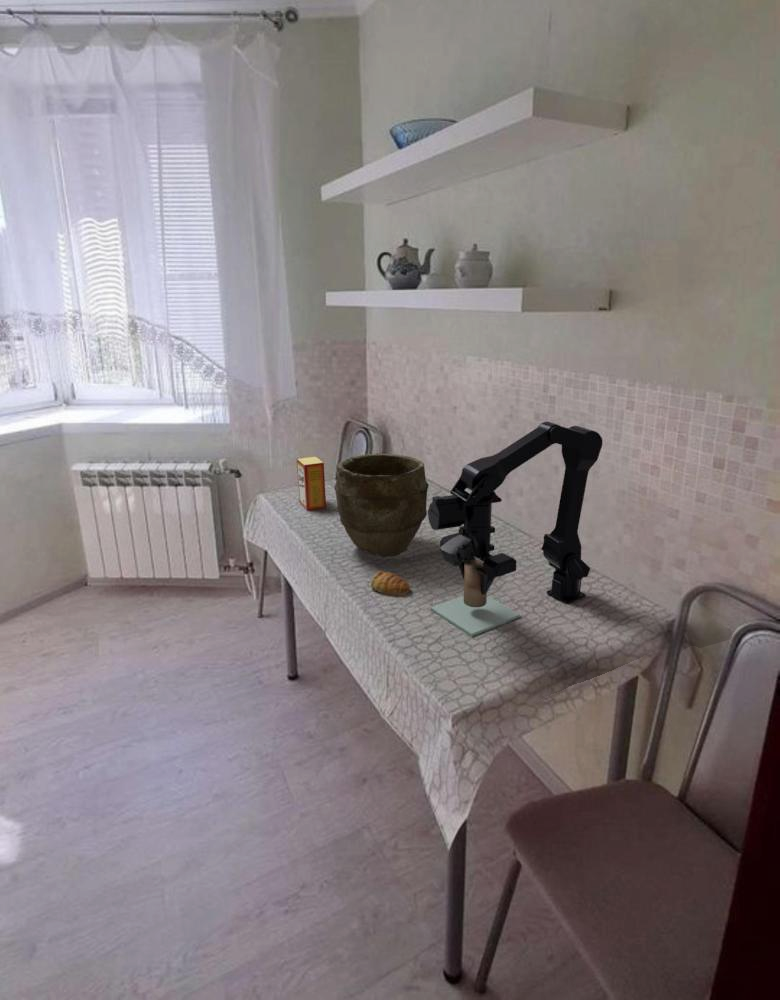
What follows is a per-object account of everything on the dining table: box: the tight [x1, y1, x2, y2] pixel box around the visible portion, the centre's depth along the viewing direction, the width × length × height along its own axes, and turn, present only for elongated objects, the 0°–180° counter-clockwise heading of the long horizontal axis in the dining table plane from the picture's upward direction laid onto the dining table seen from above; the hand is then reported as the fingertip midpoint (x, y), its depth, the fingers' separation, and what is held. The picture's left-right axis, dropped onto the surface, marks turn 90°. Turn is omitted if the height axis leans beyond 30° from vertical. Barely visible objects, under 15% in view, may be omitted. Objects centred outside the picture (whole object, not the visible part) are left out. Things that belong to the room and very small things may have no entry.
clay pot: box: [333, 452, 430, 558], centre depth 169 cm, size 25×25×25 cm
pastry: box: [370, 570, 411, 596], centre depth 148 cm, size 9×7×4 cm
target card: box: [429, 595, 521, 637], centre depth 137 cm, size 14×14×1 cm
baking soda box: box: [296, 455, 327, 512], centre depth 206 cm, size 10×6×16 cm
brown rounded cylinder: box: [463, 559, 488, 607], centre depth 134 cm, size 5×5×9 cm
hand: (475, 589), depth 135 cm, fingers closed on brown rounded cylinder, 5 cm apart
